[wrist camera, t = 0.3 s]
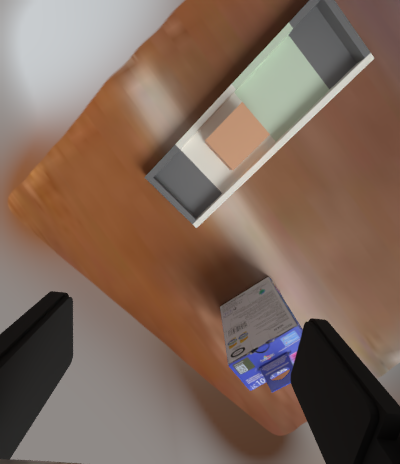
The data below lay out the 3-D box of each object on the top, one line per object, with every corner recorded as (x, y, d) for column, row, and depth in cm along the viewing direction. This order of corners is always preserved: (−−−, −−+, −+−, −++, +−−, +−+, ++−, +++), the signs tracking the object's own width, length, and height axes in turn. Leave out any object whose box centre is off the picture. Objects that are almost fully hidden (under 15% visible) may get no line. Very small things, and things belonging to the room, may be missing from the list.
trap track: (315, -4, 29) (323, -16, 27) (363, 64, 31) (374, 58, 29) (147, 176, 35) (144, 177, 33) (196, 224, 37) (196, 228, 35)
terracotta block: (237, 108, 32) (242, 101, 29) (262, 137, 33) (270, 134, 30) (204, 142, 34) (205, 140, 30) (229, 169, 35) (233, 170, 31)
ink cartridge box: (236, 329, 42) (253, 412, 28) (217, 306, 41) (226, 381, 27) (285, 300, 41) (329, 371, 27) (268, 275, 39) (305, 337, 26)
